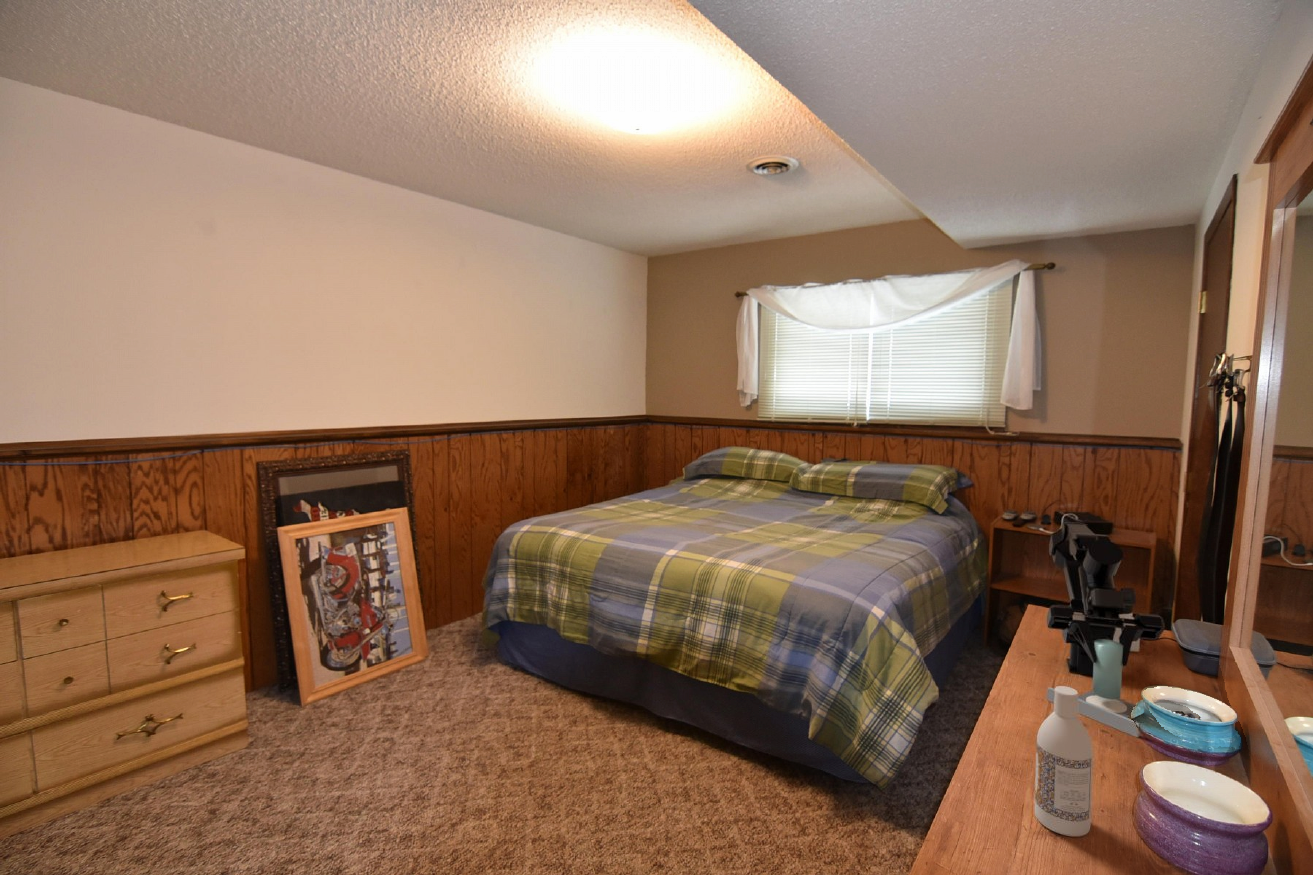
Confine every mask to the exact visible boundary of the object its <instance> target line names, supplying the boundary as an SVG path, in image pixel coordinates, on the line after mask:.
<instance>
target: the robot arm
mask: <svg viewBox="0 0 1313 875" xmlns="http://www.w3.org/2000/svg"><path fill="white" fill-rule="evenodd" d="M1048 552H1049V556H1050V557H1051V556H1052V557H1051V558H1052V561H1053V564H1054V565H1055V566H1057V567H1058V568H1060V569H1061V570H1063V574H1064V577H1065V578H1064V579H1065V583H1066V586H1067V587H1066V589H1067V591H1068V596H1069V602H1070V603H1069V605H1060V604H1059V605H1057V604H1051V606H1050V607H1049V609H1048V611H1047V614H1046V624H1047V628H1048V629H1052V630H1058V631H1059V630H1061V636H1062V638H1063V640H1064V643H1065V644H1070V646H1069V658H1066V661H1065V662H1066V665H1067V669H1068V672H1070V673H1074V674H1080V675H1081V674H1082V675H1087V676H1092V677H1093V666H1094V663H1096V653H1095V649H1094V642H1095V640H1097V639H1107V640H1112V641H1113V637H1114V634H1115V631H1116V628H1121V631H1122V633H1121V635H1120V637H1119V643H1120V644H1122V645H1123V659H1122V667H1127V664H1128V661H1129V656H1130V653H1131V651H1130V649H1131V645H1132V642H1133V641H1138V639H1139V638H1140V639H1143V640H1144V639H1145V640H1153V641H1155V640H1159V638H1160V636H1161V635H1162V634H1163V632H1164V631H1165V630H1166V625H1165V620H1164V619H1163V618H1162V617H1161V616H1160V615H1159V614H1151V613H1144V612H1143V613H1140V612H1139V613H1138V612H1137V613H1136V615H1135V617H1133V618H1134V619H1126V618H1120V616H1119V614H1121V615H1122V614H1123V608H1125V605H1132V606H1133V607H1134V606H1135V605H1136V604H1137V596H1136V590H1135V588H1133V587H1122V588H1120V590H1117V588H1115V583H1114V578H1113V577H1114V576H1116V574H1117V571H1118V569H1119V566H1120V565H1121V562H1122V560H1123V558H1124V552H1123V550H1122V549H1121V547H1120V546H1119V545H1118V544H1116V543H1115V542H1114V541H1113V540H1111V537H1110V536H1109V535H1106V534H1097V533H1096V534H1095V533H1094V532H1093V531H1092V530H1091V529H1090V528H1089V524H1087V523H1084V522H1074V521H1073V522H1072V521H1071V522H1070V521H1066V522H1063V523H1062V524H1061V527H1060V528H1059V529H1058V530H1056V531H1054V532H1053V533H1052V534H1050V539H1049V544H1048Z"/></svg>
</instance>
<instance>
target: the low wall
mask: <svg viewBox="0 0 1313 875" xmlns="http://www.w3.org/2000/svg"><path fill="white" fill-rule="evenodd" d="M1054 698H1055V688H1053V687H1051V686H1048V687H1047V688H1046V700H1047V701H1049V702H1051V703H1053V704H1054ZM1079 714H1080V715H1082V716H1084V717H1087V718H1088V719H1091V720H1094V721H1097V722H1100V723H1101V724H1103V725H1106V726H1108V727H1110V728H1113V729H1115V730H1117V731H1118V730H1119V732H1120V731H1121V732H1123V733H1125V734H1127V735H1130V736H1133V737H1135V738H1139V737H1140V734H1141V733H1140V732H1139V731H1138V728H1137V727H1136V724H1135V723H1134V721H1135V720H1134V719H1133V720H1134V721H1133V720H1131V719H1129V718H1126V717H1124V716H1121V715H1119V714H1116V713H1114V712H1111V711H1109V710H1106V709H1104V708H1101V707H1099V706H1096V705H1094V704H1091V703H1089V702H1086V701H1084V700H1081V699H1078V715H1079Z"/></svg>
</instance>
